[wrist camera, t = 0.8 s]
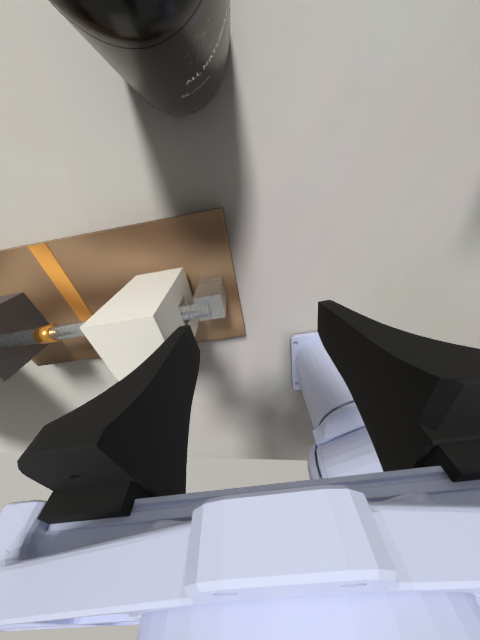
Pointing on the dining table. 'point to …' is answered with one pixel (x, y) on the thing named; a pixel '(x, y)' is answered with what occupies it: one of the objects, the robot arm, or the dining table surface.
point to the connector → (14, 317)
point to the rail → (205, 307)
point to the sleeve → (139, 319)
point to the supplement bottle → (159, 45)
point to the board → (120, 273)
